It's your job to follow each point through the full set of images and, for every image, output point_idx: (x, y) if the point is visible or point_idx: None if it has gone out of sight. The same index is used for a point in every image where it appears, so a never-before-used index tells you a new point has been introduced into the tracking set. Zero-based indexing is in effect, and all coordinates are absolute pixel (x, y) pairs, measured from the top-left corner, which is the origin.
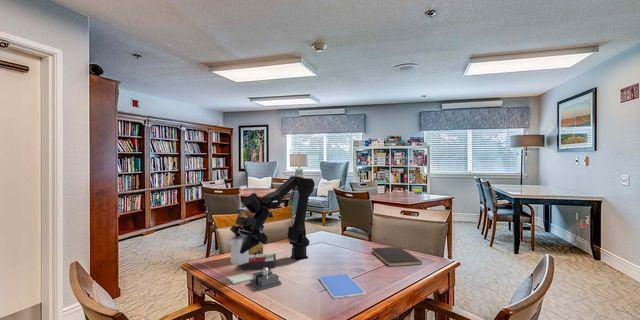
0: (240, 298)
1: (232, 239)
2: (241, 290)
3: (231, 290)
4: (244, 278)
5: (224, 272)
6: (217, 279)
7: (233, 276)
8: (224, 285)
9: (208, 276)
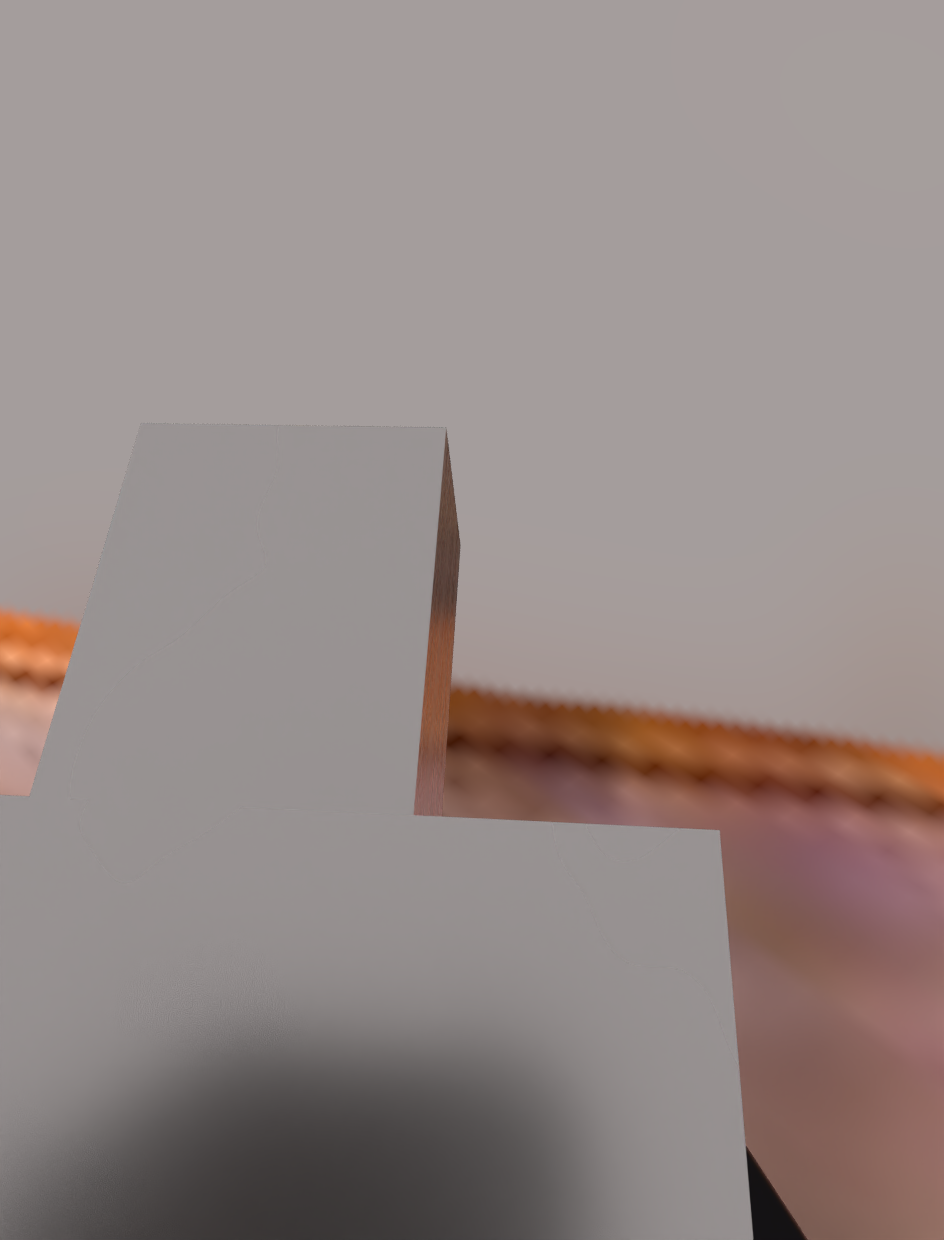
0: (21, 617)
1: (244, 638)
2: None
3: None
4: None
5: (929, 1080)
6: (713, 801)
7: None
8: (450, 728)
9: (927, 793)
